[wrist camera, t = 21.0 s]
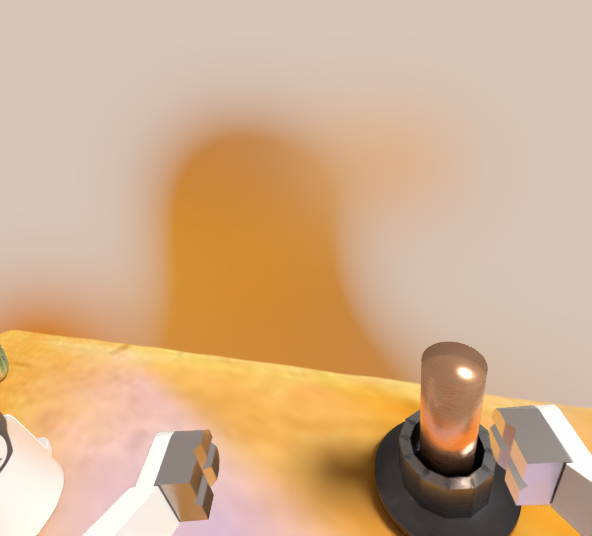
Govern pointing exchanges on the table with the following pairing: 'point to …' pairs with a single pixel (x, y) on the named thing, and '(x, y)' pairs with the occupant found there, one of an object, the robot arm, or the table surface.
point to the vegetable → (3, 364)
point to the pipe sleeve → (442, 489)
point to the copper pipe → (450, 407)
